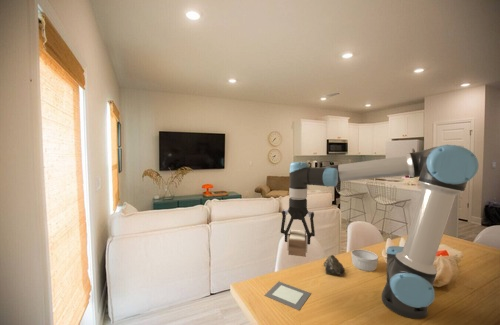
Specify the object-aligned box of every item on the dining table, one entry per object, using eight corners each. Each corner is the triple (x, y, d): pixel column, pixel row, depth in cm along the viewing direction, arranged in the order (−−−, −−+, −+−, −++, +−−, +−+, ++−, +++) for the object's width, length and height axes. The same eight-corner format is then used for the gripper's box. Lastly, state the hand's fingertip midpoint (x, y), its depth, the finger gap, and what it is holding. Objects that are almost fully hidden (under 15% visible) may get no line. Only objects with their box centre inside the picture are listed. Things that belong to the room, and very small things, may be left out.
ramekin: (380, 265, 121) (380, 253, 121) (375, 275, 111) (375, 262, 111) (355, 258, 130) (355, 247, 129) (347, 267, 120) (347, 254, 120)
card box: (305, 256, 90) (306, 240, 89) (288, 254, 91) (288, 238, 91) (305, 245, 99) (305, 230, 99) (289, 243, 101) (289, 229, 100)
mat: (311, 294, 96) (311, 292, 96) (299, 311, 86) (299, 309, 86) (278, 282, 106) (278, 281, 106) (264, 296, 95) (264, 295, 95)
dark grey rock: (347, 278, 108) (337, 259, 108) (330, 284, 110) (320, 266, 110) (343, 266, 118) (334, 250, 119) (327, 272, 120) (318, 256, 121)
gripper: (321, 197, 96) (320, 249, 96) (276, 195, 101) (275, 244, 102) (322, 201, 88) (321, 257, 89) (273, 198, 94) (273, 251, 94)
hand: (297, 250), depth 95 cm, fingers closed on card box, 7 cm apart
